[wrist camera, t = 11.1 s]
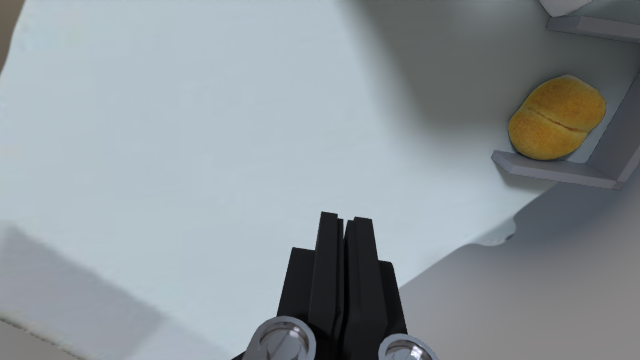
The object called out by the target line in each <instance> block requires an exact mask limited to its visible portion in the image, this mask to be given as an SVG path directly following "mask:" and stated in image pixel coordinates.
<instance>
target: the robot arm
mask: <svg viewBox="0 0 640 360" xmlns="http://www.w3.org/2000/svg"><path fill="white" fill-rule="evenodd" d="M232 360H439V359H438V357H437V356H436V354H435V353H434V352H433V351H432V349H431V348H430V347H429V346H428V345H427V344H425V343H424V342H422V341H421V340H419V339H418V338H416V337H413V336H411V335H408V333H407V328H406V324H405V319H404V314H403V310H402V305H401V301H400V296H399V291H398V287H397V282H396V277H395V273H394V268H393V265H392V263H391V262H387V261H381V260H378V256H377V249H376V243H375V236H374V230H373V224H372V219H368V218H361V217H354V220H353V221H352V220H348V222H347V226H346V230H345V235H344V239H343V219H339V218H338V214H335V213H329V212H322V211H321V217H320V223H319V229H318V235H317V241H316V247H315V250H308V249H302V248H295V247H293V248H292V251H291V255H290V259H289V264H288V268H287V272H286V277H285V281H284V285H283V290H282V294H281V298H280V303H279V307H278V311H277V316H276V317H274V318H271V319H269V320H267V321H265V322H264V323H263V324H261V325H260V326H259V327H258V329H257V330H256V332H255V333H254V335H253V337H252V339H251V341H250V343H249V345H248V347H247V350H246V351H244V352H243V353H241V354H240V355H238V356H236V357H235V358H233V359H232Z"/></svg>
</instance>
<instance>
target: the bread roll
mask: <svg viewBox="0 0 640 360" xmlns="http://www.w3.org/2000/svg"><path fill="white" fill-rule="evenodd" d="M605 111H606V102H605V100H604V98H603V97H602V95H601V94H600V92H599V91H598V90H597V89H595V88H593V87H592V86H590V85H589V84H586V83H585V82H584V81H582V80H580V79H578V78H576V77H575V76H572V75H568V74H566V75H562V76H559V77H557V78H553V79H550V80H548V81H546V82H544V83H542V84H541V85H539V86H538V87H537V88H536V89H535V90H534V91H533V92H532V93H531V94H530V95H529V96H528V97H527V99H526V100H525V101H524V103H523V104H522V105H521V107H520V108H519V109H518V110H517V111H516V112H515V114H514V115H513V116H512V118H511V119H510V121H509V123H508V131H509V136H510V139H511V142H512V143H513V145H514V147H515V148H516V150H517V151H518V152H520V153H521V154H523V155H524V156H527V157H529V158H532V159H537V160H551V159H556V158H559V157H562V156H564V155H567V154H569V153H571V152H573V151H574V150H576V149H577V148H578V147H579V146H580V145H581V144H582V143H583V141H584V140H585V138H586V137H587V135H588V134H589V132H590V131H591V130H592V129H594V128H595V127H596V126H597V125H598V124H599V123H600V122H601V121H602V119H603V117H604V115H605Z"/></svg>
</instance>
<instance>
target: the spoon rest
mask: <svg viewBox="0 0 640 360" xmlns="http://www.w3.org/2000/svg"><path fill="white" fill-rule="evenodd" d="M539 1H540V2H541V4H542V5H543V7H544V8H545V9H546V11H547V12H548V13H549V14H550V15H551V16H552V17H553V18H557V17H561V16H564V15H567V14H569V13H571V12H573V11H575V10H577V9H579V8H581V7H582V6H584V5H585V4H587V3H589V2H590V1H592V0H539Z"/></svg>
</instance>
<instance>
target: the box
mask: <svg viewBox="0 0 640 360" xmlns="http://www.w3.org/2000/svg"><path fill="white" fill-rule="evenodd" d="M546 29H548V30H554V31H561V32H567V33H574V34H580V35H587V36H593V37H600V38H606V39H613V40H619V41H626V42H632V43H639V44H640V25H638V24H632V23H625V22H619V21H612V20H606V19H599V18H593V17H586V16H573V17H557V18H550V19H549V22H548V24H547V26H546ZM491 158H492V159H493V160H494V161H495V162H497V163H498V164H499V165H500V166H501V167H502V168H504V169H505V170H506V171H507V172H508V173H509V174H515V175H521V176H528V177H534V178H541V179H547V180H554V181H561V182H567V183H574V184H580V185H587V186H593V187H600V188H606V189H613V190H619V191H620V190H621V189H622V188H623V186H624V185H625V183H626V182H627V180H628V179H629V177H630V176H631V174H632V172H633V171H634V169H635V168H636V166H637V165H638V163H639V162H640V71H639V73H638V75H637V77H636V78H635V80H634V82H633V84H632V85H631V87H630V89H629V91H628V92H627V94H626V96H625V97H624V99H623V101H622V103H621V104H620V106H619V108H618V110H617V111H616V113H615V115H614V117H613V118H612V120H611V122H610V124H609V125H608V127H607V129H606V130H605V132H604V134H603V136H602V137H601V139H600V141H599V143H598V144H597V146H596V148H595V150H594V151H593V153H592V155H591V157H590V158H589V160H588V162H587V163H586V164H581V163H575V162H568V161H562V160H555V159H551V160H537V159H532V158H529V157H527V156H524V155H522V154H516V153H509V152H503V151H496V150H494V153H493V155H492V157H491Z"/></svg>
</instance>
